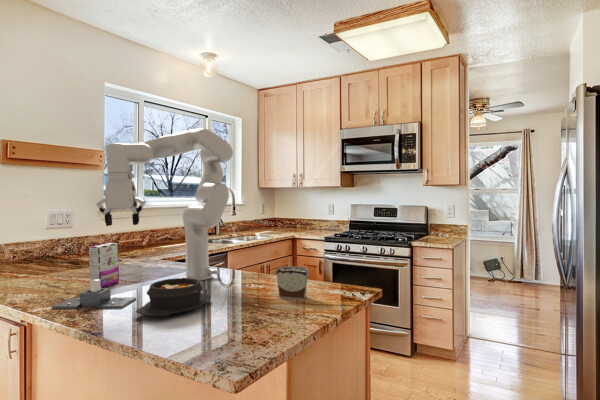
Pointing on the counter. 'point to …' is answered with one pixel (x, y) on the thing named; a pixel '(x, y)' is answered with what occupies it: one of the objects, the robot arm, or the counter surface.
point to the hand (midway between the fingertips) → (122, 225)
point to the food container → (292, 281)
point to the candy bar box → (104, 263)
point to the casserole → (173, 297)
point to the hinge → (95, 300)
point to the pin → (95, 285)
